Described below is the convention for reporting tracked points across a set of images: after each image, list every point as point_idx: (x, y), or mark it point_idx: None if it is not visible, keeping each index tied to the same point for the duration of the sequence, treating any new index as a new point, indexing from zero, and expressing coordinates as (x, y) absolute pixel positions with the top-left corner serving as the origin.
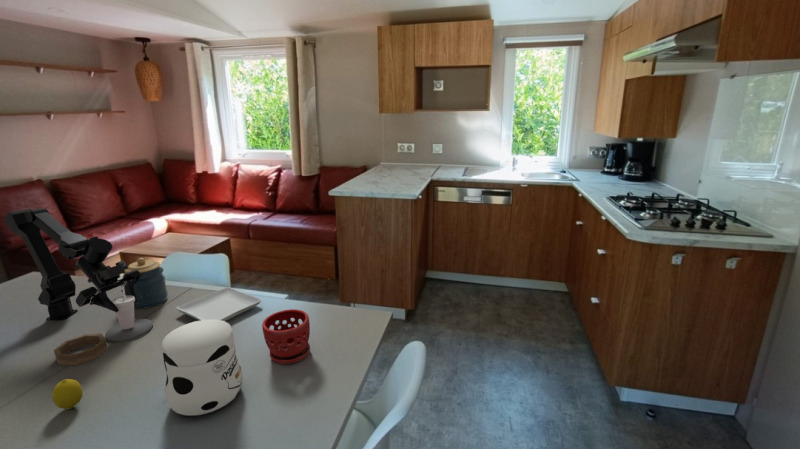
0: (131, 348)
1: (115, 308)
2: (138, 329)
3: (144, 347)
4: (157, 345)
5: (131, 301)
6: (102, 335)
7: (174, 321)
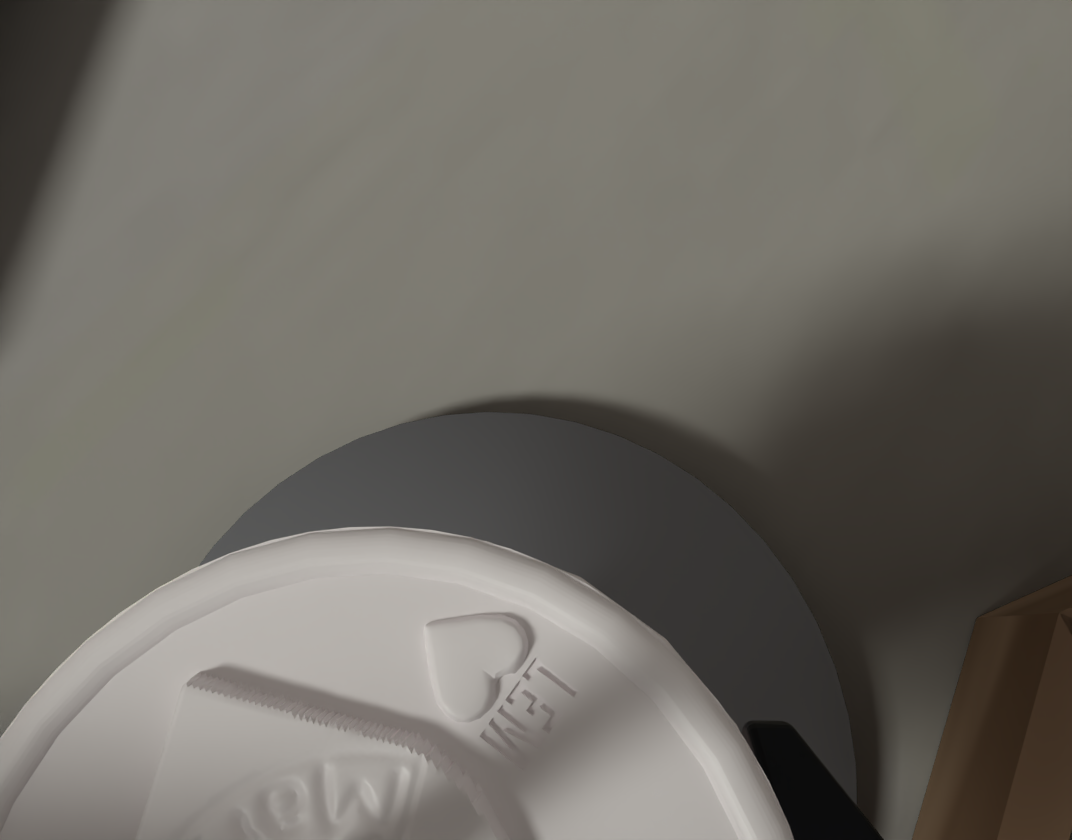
0: (836, 273)
1: (836, 787)
2: None
3: (749, 133)
4: (650, 21)
5: (322, 556)
6: (1001, 826)
7: (43, 327)
